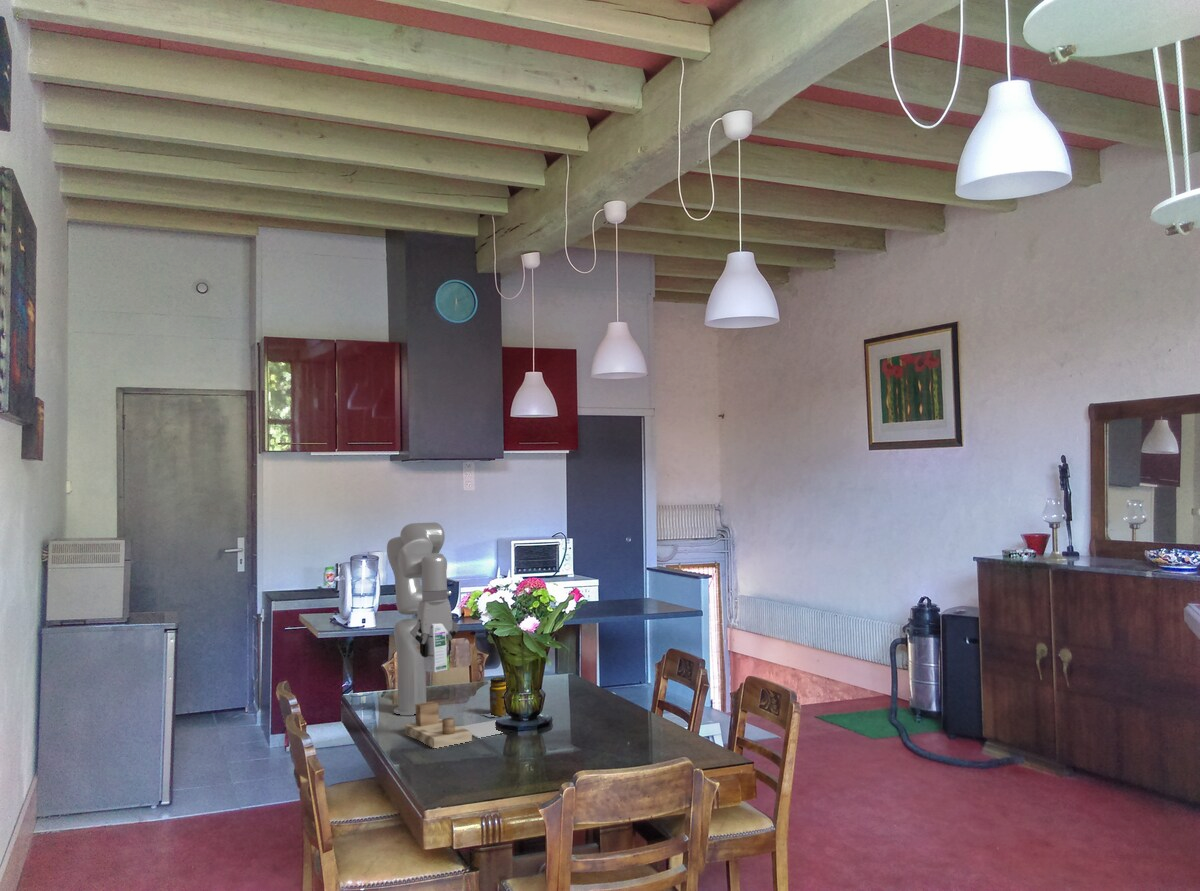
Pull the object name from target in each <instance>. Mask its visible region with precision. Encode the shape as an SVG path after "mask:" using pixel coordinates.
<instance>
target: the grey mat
mask: <svg viewBox="0 0 1200 891" xmlns="http://www.w3.org/2000/svg"><path fill="white" fill-rule="evenodd" d="M496 720H497V719H494V720H488V721H483V722H477V723H473V724H472V723H471V724H466V725H461V726H460V725H459V726H460V727H462V728H464V729H467V730H469V731H471V732H472V735H473V736H475V737H477V738H480V739H482V738H481V737H486V736H491V735H495V734H500V733H503V732H501V731H498V730H496V728H495V727H496V726H495V722H496ZM473 736H472V737H473ZM475 737H474V738H475ZM491 737H492V736H491ZM477 738H476V739H477ZM486 738H487V737H486Z"/></svg>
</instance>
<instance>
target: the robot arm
mask: <svg viewBox="0 0 1200 891" xmlns="http://www.w3.org/2000/svg"><path fill="white" fill-rule="evenodd" d="M445 538H446V537H445V530H444V528H443V526H442V525H441V524H440V523H438V522H433V521H432V522H413V523H409V524H407V525H404V527H402V529H401V531H400V536H396V537H393V538H391V539H389V540H388V541H387V544H386V554H387V560H388V563H389V565H390V567H391V569H392V574H393V575H394V586H395V587H394V588H395V600H396V601H395V602H396V603H395V604H396V609H397V611H398V613H399V614H400V615H404V616H408V615H409V616H412V615H413V616H414V615H416V616H417V617H413V618H405V619H402V620H401V619H400V620H399V621H397V622H396V623H395V625H394V627H393V635H394V643H395V648H396V649H395V650H396V665H397V666H396V668H397V669H396V670H397V704H398V706H397V707H395V708H394V709H393V714H394V713H396V714H400V715H399V716H415V715H414V714H416V712H415V704H420V703H426V702H427V673H426V672H427V671H424V670H423V657H427V656H428V655H427V644H426V640H427V638H428V635H430V634H431V625H432V624H443V626H444V627H445V629H446V630H447V632H448V642H449V655H450V654H451V651H452V640H453V638H454V637H455V636H456V634H457V633H458V631H459V630H460V628H461V626H460V625H459V623H457V622H456V621H454V620H453V614H452V607H451V602H450V600H449V599H448V598H449V596H451V595H452V592H451V590H448V583H447V582H448V580H447V579H448V578H447V573H448V572H447V570H448V560H447V558H446V556H445V555H444V554H442V553H440V552H441V550H442V548H443V546H444V544H445ZM420 579H421V580H420ZM418 647H419V649H418ZM396 714H395V715H396Z"/></svg>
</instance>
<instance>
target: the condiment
mask: <svg viewBox="0 0 1200 891" xmlns="http://www.w3.org/2000/svg"><path fill="white" fill-rule="evenodd" d="M505 678H506V677H503V676H497V677H492V678H491V679H490V687H489V713H491V715H494V716H502V715H503V717H505V716H504V715H506V711H505V706H504V698H503V697H504V693H505V691H506V685H507V684H506V683H507V681H506V682H505ZM483 714H484V713H480V715H481V716H483Z"/></svg>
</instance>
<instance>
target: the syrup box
mask: <svg viewBox="0 0 1200 891" xmlns="http://www.w3.org/2000/svg"><path fill="white" fill-rule="evenodd" d="M426 644H427V655H428V656H427V657H423V670H424V671H426V672H427V673H435V674H436V673H438V672H443V671H448V670H450V654H449V642H448V632H447V630H446V629H445V627H444V626H443V624H432V625H431V634H430V635H428V638H427V640H426Z"/></svg>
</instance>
